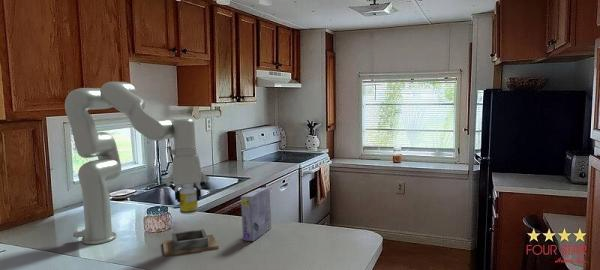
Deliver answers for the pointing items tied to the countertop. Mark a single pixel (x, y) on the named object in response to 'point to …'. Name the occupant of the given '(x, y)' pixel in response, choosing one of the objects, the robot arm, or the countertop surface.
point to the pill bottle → (188, 199)
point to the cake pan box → (256, 213)
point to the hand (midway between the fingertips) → (188, 200)
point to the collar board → (189, 242)
